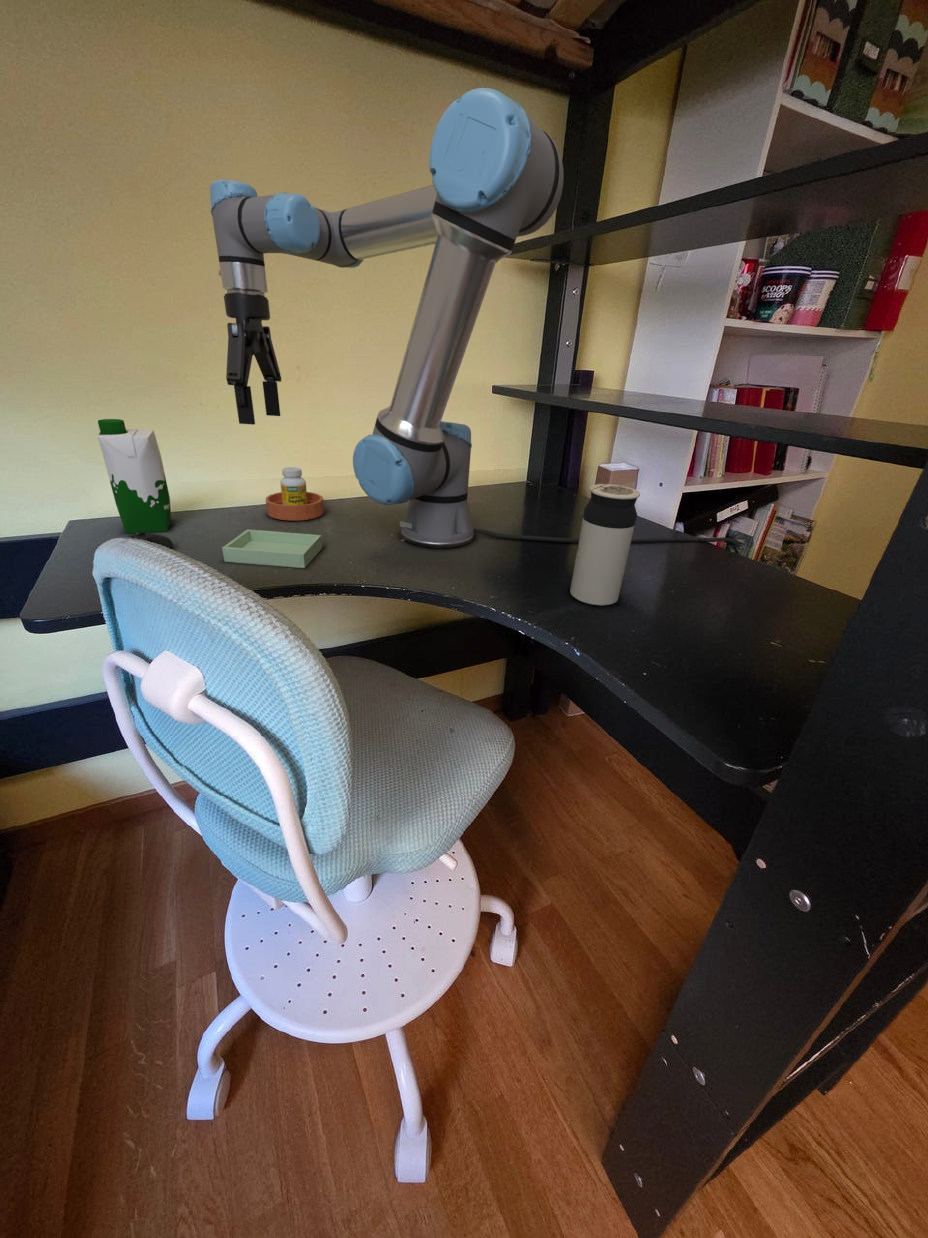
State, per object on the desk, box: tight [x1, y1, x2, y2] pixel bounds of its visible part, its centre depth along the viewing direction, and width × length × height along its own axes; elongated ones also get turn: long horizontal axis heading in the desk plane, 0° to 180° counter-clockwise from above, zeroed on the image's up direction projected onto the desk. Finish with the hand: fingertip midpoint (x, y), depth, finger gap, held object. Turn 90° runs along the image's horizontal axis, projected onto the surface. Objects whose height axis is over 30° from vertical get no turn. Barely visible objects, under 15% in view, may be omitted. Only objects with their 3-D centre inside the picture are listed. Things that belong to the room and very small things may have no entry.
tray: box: [221, 529, 323, 569], centre depth 93 cm, size 14×10×3 cm
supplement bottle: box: [279, 466, 308, 505], centre depth 113 cm, size 5×5×10 cm
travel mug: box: [569, 483, 641, 606], centre depth 82 cm, size 8×8×18 cm
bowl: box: [265, 491, 325, 522], centre depth 115 cm, size 12×12×4 cm
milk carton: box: [97, 418, 172, 534], centre depth 97 cm, size 9×9×20 cm
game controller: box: [126, 532, 174, 549], centre depth 89 cm, size 10×5×6 cm
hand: (261, 419), depth 102 cm, fingers open, 13 cm apart
